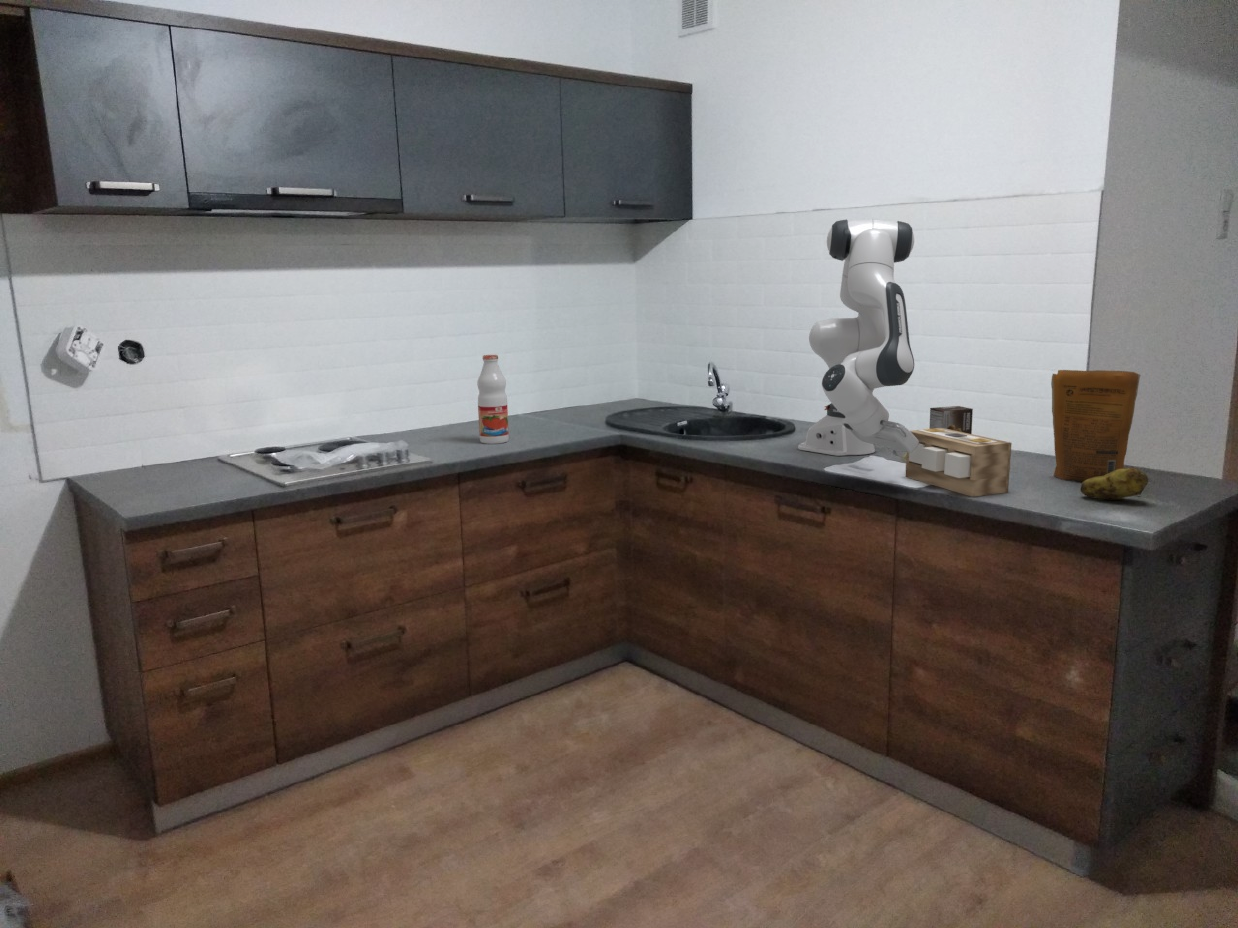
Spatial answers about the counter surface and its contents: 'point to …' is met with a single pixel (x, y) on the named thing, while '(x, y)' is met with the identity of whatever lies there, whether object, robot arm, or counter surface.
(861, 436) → the robot arm
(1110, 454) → the pancake mix bag
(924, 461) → the button middle
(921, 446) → the button
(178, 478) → the counter surface
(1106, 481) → the potato
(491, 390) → the fruit juice
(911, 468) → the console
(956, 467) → the button
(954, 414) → the coffee box
